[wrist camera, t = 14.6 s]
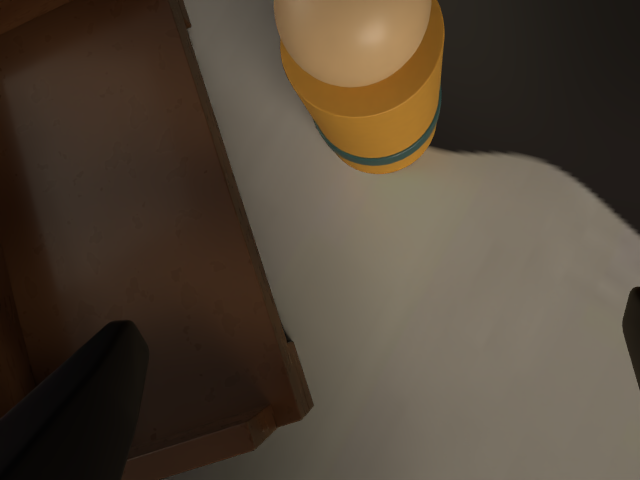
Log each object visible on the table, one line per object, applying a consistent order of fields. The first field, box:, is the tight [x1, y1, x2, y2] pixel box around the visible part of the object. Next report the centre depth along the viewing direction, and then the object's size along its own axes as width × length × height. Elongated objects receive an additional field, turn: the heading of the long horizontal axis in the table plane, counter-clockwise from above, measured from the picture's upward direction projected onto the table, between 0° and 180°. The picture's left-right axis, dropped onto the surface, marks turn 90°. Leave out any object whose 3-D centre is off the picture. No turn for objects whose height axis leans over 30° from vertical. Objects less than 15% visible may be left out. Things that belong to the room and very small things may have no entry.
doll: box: [274, 0, 444, 174], centre depth 18 cm, size 5×5×12 cm
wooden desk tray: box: [0, 0, 314, 480], centre depth 23 cm, size 22×12×6 cm, turn 19°
